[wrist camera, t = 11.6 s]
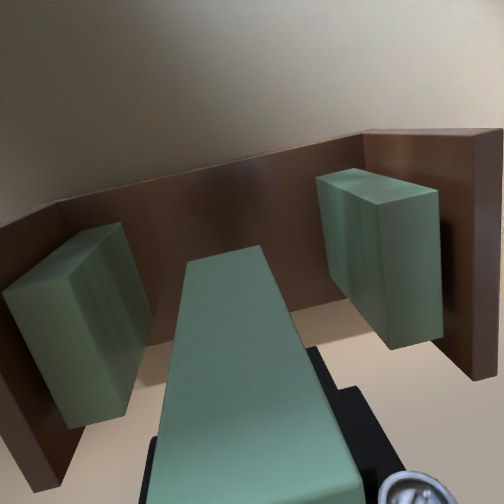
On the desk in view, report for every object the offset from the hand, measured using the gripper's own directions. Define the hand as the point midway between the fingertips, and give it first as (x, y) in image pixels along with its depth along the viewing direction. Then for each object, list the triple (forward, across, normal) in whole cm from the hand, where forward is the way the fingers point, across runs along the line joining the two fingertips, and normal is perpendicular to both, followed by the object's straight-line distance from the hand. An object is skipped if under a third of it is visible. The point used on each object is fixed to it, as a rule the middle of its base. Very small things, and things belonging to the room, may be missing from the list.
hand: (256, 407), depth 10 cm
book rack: (+15, 0, 0) cm, 15 cm away
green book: (+4, 0, 0) cm, 4 cm away
